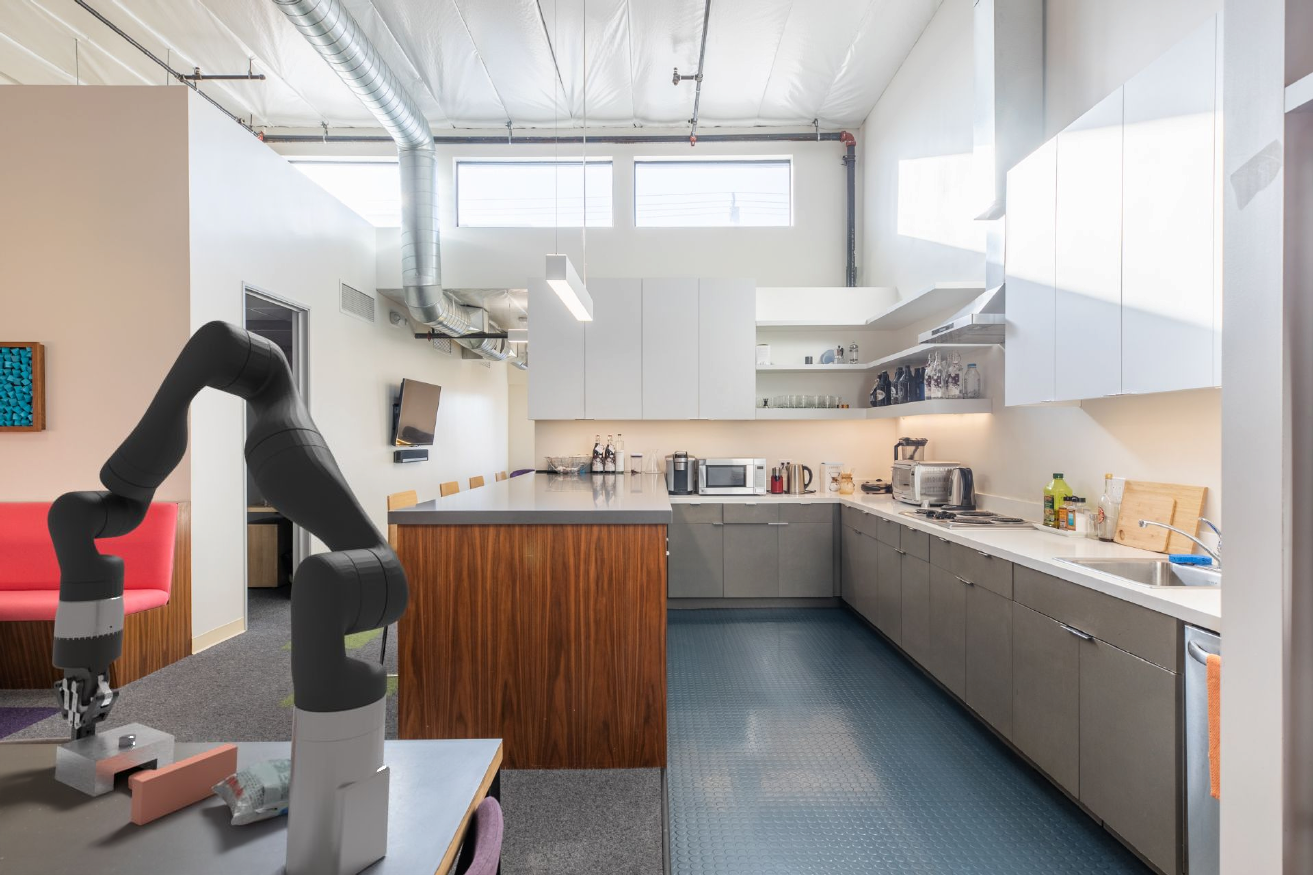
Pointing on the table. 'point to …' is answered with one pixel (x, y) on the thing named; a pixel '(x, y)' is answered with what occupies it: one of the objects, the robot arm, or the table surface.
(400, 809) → the table surface
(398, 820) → the table surface
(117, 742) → the metal block with knob
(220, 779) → the salmon angled bracket
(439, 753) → the table surface
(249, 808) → the packaged food
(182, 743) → the table surface
